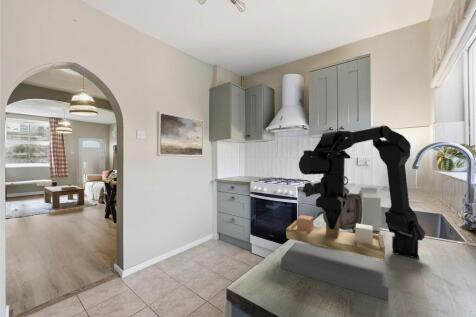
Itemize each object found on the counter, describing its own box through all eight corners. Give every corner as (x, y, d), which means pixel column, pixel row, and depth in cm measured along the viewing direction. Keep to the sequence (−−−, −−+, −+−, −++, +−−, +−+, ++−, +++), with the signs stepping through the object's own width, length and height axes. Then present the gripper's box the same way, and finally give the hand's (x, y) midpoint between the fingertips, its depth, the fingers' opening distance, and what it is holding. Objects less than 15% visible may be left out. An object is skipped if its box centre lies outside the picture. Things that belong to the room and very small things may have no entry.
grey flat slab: (384, 272, 61) (384, 262, 61) (388, 300, 49) (388, 287, 49) (294, 250, 75) (295, 242, 75) (280, 268, 63) (281, 258, 63)
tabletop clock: (338, 240, 84) (339, 177, 84) (320, 233, 92) (321, 175, 92) (361, 234, 91) (362, 176, 90) (343, 228, 99) (343, 174, 98)
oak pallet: (382, 246, 61) (383, 214, 60) (384, 260, 52) (385, 223, 52) (295, 229, 74) (295, 203, 74) (286, 239, 65) (286, 209, 65)
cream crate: (372, 240, 59) (372, 225, 59) (372, 245, 56) (372, 230, 56) (356, 237, 61) (356, 223, 61) (355, 241, 58) (355, 227, 58)
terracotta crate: (313, 229, 68) (313, 216, 68) (310, 233, 64) (310, 220, 64) (300, 227, 70) (300, 214, 70) (297, 230, 66) (297, 217, 66)
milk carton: (380, 231, 95) (381, 189, 95) (362, 230, 96) (363, 188, 96) (373, 226, 102) (374, 186, 101) (357, 225, 103) (357, 186, 103)
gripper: (312, 171, 75) (311, 215, 75) (297, 174, 59) (296, 230, 59) (348, 172, 69) (347, 220, 69) (341, 177, 53) (340, 239, 53)
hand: (332, 226), depth 63 cm, fingers closed on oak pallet, 4 cm apart
